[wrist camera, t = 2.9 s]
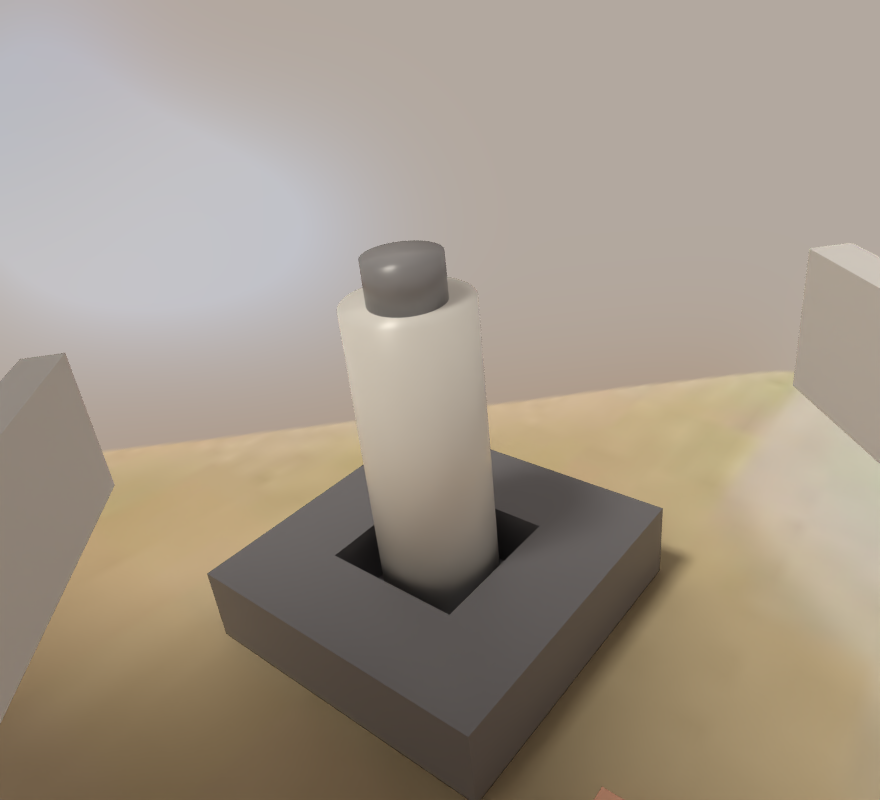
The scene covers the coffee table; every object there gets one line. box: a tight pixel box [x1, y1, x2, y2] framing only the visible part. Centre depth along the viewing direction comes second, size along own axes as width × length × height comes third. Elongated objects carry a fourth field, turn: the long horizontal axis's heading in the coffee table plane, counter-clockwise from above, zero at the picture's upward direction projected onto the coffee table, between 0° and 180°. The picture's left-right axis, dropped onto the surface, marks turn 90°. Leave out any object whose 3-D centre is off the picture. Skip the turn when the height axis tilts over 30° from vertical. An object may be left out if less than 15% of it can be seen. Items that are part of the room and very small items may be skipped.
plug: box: [337, 241, 500, 615], centre depth 27 cm, size 4×4×14 cm
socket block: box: [208, 449, 663, 800], centre depth 29 cm, size 12×12×3 cm
